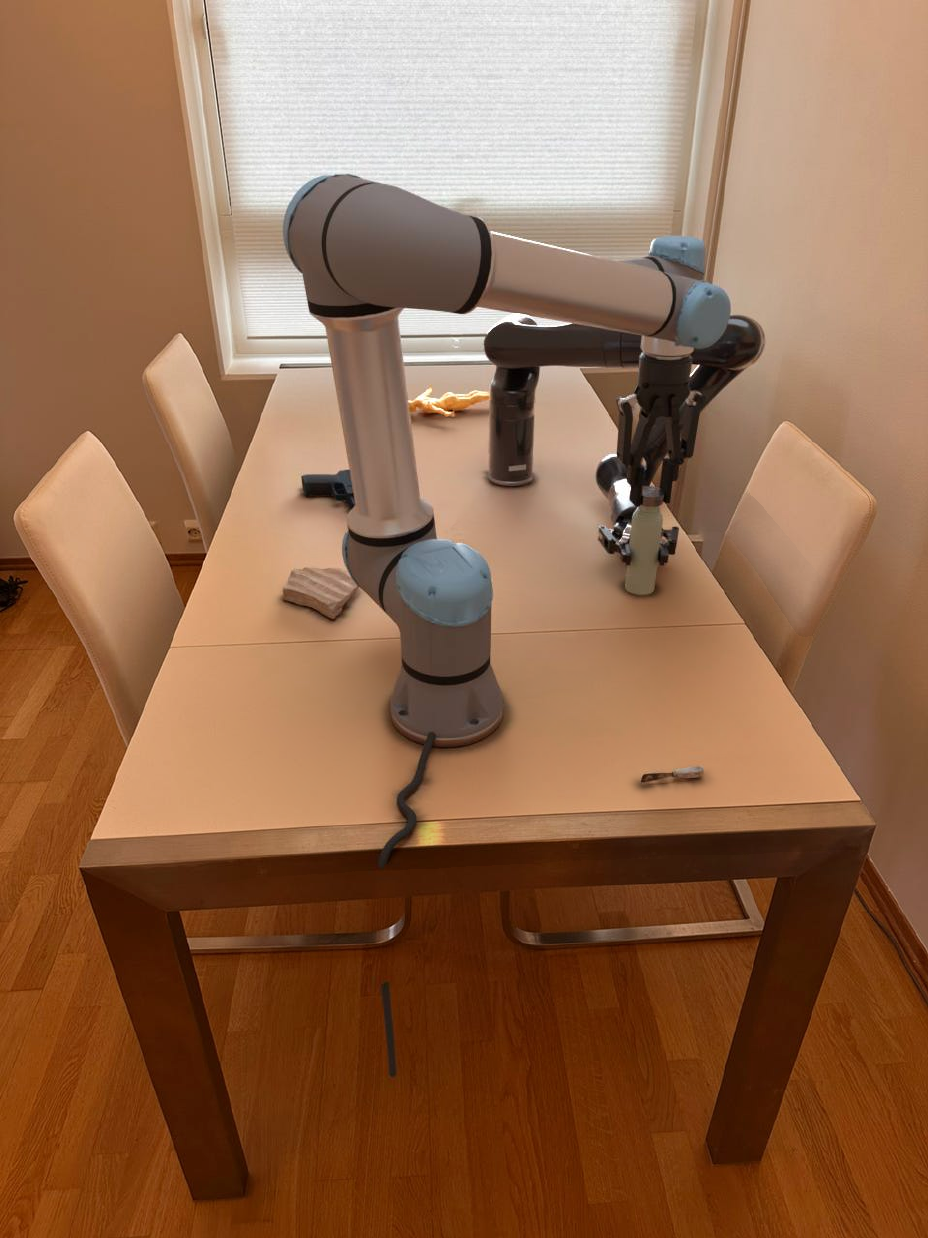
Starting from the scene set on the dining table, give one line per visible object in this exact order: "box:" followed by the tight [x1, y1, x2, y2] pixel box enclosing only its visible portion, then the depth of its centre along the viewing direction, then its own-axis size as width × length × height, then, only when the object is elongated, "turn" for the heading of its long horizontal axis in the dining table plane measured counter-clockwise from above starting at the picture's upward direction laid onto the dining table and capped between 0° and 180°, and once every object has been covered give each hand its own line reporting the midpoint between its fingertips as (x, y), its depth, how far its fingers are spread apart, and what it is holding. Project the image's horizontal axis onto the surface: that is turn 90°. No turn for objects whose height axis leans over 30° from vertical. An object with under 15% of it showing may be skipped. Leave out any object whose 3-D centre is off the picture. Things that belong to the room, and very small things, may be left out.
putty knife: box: [640, 765, 705, 784], centre depth 109 cm, size 1×8×2 cm, turn 103°
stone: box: [281, 566, 360, 620], centre depth 147 cm, size 13×12×3 cm
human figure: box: [408, 385, 490, 418], centre depth 225 cm, size 20×20×4 cm
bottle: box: [624, 505, 664, 596], centre depth 145 cm, size 5×5×17 cm
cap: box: [641, 485, 665, 507], centre depth 140 cm, size 4×4×2 cm
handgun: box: [301, 469, 355, 511], centre depth 178 cm, size 3×18×12 cm
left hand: (649, 501), depth 141 cm, fingers closed on cap, 4 cm apart
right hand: (645, 560), depth 144 cm, fingers closed on bottle, 5 cm apart
